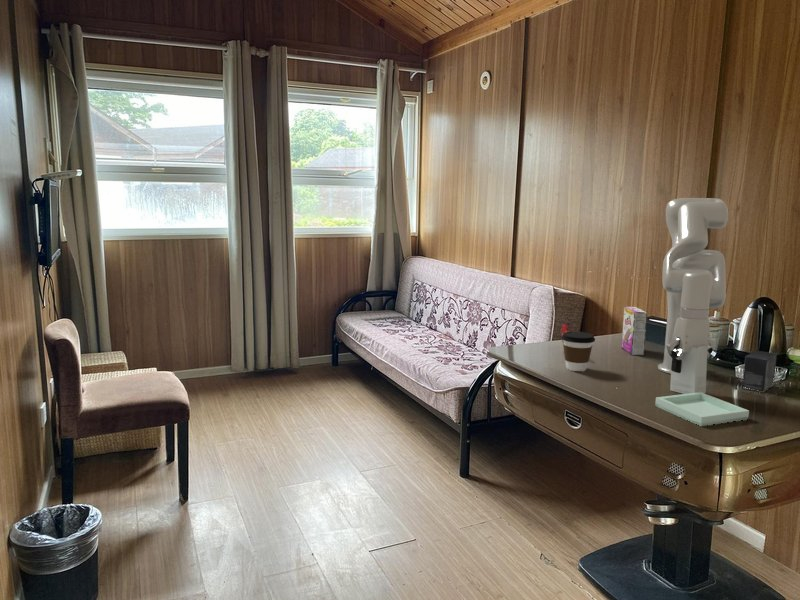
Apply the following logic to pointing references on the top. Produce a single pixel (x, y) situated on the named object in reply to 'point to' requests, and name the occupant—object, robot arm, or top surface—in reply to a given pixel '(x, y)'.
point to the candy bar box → (634, 330)
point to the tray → (701, 408)
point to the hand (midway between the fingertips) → (688, 370)
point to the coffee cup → (577, 349)
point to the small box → (759, 370)
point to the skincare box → (691, 372)
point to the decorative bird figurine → (564, 330)
